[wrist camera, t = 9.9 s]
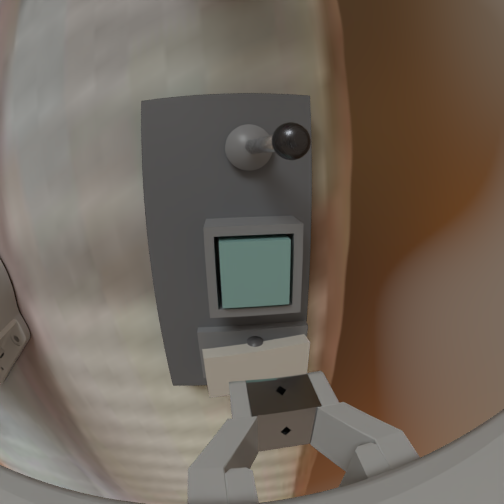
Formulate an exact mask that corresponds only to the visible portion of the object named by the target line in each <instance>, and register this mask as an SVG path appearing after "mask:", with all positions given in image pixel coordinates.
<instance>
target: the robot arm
mask: <svg viewBox="0 0 504 504" xmlns="http://www.w3.org/2000/svg"><path fill="white" fill-rule="evenodd" d="M29 339H30V332H29V329H28V327H27V325H26V323H25V321H24V320H23V318H22V316H21V314H20V313H19V310H18V307H17V303H16V299H15V295H14V291H13V288H12V285H11V282H10V279H9V276H8V274H7V272H6V269H5V267H4V265H3V263H2V261H1V260H0V385H1V384H2V383H3V382H4V381H5V379H6V377H7V375H8V374H9V372H10V370H11V368H12V367H13V365H14V363H15V362H16V360H17V358H18V357H19V355H20V353H21V352H22V350H23V348H24V347H25V345H26V344H27V342H28V340H29ZM229 391H230V402H231V412H232V419H227V420H226V422H225V423H224V424H223V426H222V427H221V428H220V430H219V431H218V432H217V434H216V435H215V436H214V437H213V439H212V440H211V441H210V442H209V444H208V445H207V446H206V447H205V449H204V450H203V451H202V452H201V454H200V455H199V456H198V457H197V459H196V460H195V461H194V462H193V463H192V465H191V466H190V467H189V468H188V504H504V409H503V410H502V411H500V412H499V413H497V414H496V415H495V416H493V417H492V418H490V419H489V420H487V421H486V422H484V423H483V424H481V425H480V426H478V427H476V428H475V429H473V430H472V431H470V432H468V433H466V434H465V435H463V436H461V437H460V438H458V439H456V440H454V441H453V442H451V443H449V444H447V445H445V446H443V447H441V448H440V449H438V450H435V451H433V452H432V453H430V454H427V455H425V456H423V457H421V458H420V457H419V455H418V454H417V452H416V451H415V449H414V448H413V446H412V445H411V443H410V442H409V440H408V439H407V437H406V436H405V434H404V433H403V431H402V430H400V429H397V428H395V427H393V426H391V425H389V424H387V423H384V422H382V421H380V420H378V419H376V418H374V417H372V416H370V415H368V414H366V413H364V412H362V411H360V410H358V409H356V408H354V407H352V406H350V405H348V404H346V403H345V402H341V403H339V401H338V399H337V398H336V396H335V394H334V392H333V390H332V388H331V386H330V384H329V383H328V381H327V379H326V377H325V375H324V373H323V372H322V371H317V372H311V373H306V374H300V375H294V376H286V377H279V378H270V379H258V380H245V381H232V382H229ZM310 443H311V445H312V446H313V447H314V448H316V449H317V450H318V451H319V452H321V453H322V454H323V455H324V456H326V457H327V458H328V459H330V460H331V461H332V462H334V463H335V464H336V465H338V466H339V467H340V468H342V469H343V470H345V471H346V473H345V475H344V477H343V479H342V481H341V484H340V486H339V487H338V488H335V489H331V490H327V491H323V492H319V493H315V494H310V495H305V496H300V497H295V498H289V499H283V500H277V501H270V502H262V503H259V502H258V497H257V491H256V486H255V481H254V476H253V471H252V470H250V467H251V465H252V463H253V462H254V460H255V458H256V456H257V454H258V451H265V450H271V449H278V448H283V447H291V446H297V445H304V444H310ZM0 504H144V503H135V502H128V501H121V500H115V499H109V498H103V497H98V496H94V495H89V494H85V493H80V492H76V491H72V490H69V489H65V488H61V487H58V486H55V485H51V484H48V483H45V482H42V481H39V480H36V479H34V478H31V477H28V476H25V475H23V474H20V473H18V472H15V471H13V470H10V469H8V468H6V467H4V466H1V465H0Z"/></svg>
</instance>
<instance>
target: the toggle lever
mask: <svg viewBox="0 0 504 504" xmlns="http://www.w3.org/2000/svg"><path fill="white" fill-rule="evenodd" d="M310 145H311V139H310V135H309V133H308V131H307V130H306V129H305V128H304V127H303V126H302V125H300V124H298V123H293V122H288V123H284V124H282V125H280V126H278V127H277V128H276V130H275V131H274V133H273V135H269V136H264V137H259V138H254V139H250V140H248V141H247V142H246V144H245V149H246V151H247V152H248V153H250V154H258V153H269V152H276V154H277V155H279V156H280V157H281V158H283V159H286V160H297V159H300V158H302V157H303V156H304V155H306V153H307V152H308V150H309V148H310Z"/></svg>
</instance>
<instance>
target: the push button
mask: <svg viewBox="0 0 504 504" xmlns="http://www.w3.org/2000/svg"><path fill="white" fill-rule="evenodd" d="M290 255H291V239H290V238H289V237H288V236H287V235H286V234H265V235H241V236H219V258H220V275H221V291H222V306H223V308H239V307H256V306H271V305H285V304H289V295H290Z"/></svg>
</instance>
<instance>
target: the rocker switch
mask: <svg viewBox="0 0 504 504" xmlns="http://www.w3.org/2000/svg"><path fill="white" fill-rule="evenodd" d="M309 349H310V341H309V340H308V338H307V337H306V336H305V334H302V335H296V336H291V337H285V338H279V339H273V340H267V341H263V339H262V338H261V337H259V336H251V337H249V338H248V339H247V344H240V345H233V346H225V347H217V348H209V349H202V351H203V359H204V366H205V373H206V380H207V387H208V392H209V398H211V397H219V396H226V395H230V391H229V382H232V381H245V380H258V379H270V378H279V377H286V376H294V375H300V374H306V373H307V369H308V359H309Z"/></svg>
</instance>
